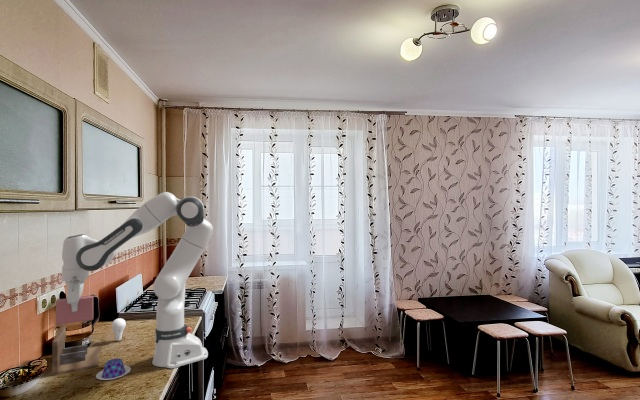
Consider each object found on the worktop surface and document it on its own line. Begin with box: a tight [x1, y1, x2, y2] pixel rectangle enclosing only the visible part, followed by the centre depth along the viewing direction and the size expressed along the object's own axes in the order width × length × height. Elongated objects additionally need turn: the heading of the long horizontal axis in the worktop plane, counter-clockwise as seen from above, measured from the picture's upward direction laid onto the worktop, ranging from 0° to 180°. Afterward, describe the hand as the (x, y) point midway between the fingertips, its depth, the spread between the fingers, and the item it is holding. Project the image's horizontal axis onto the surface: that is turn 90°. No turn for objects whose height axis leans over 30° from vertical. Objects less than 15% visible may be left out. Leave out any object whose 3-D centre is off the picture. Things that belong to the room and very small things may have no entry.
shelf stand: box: [49, 324, 102, 377], centre depth 151 cm, size 16×22×13 cm
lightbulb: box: [111, 317, 127, 342], centre depth 174 cm, size 6×6×11 cm
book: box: [55, 295, 94, 326], centre depth 141 cm, size 12×4×9 cm, turn 120°
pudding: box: [95, 357, 132, 381], centre depth 140 cm, size 12×12×5 cm
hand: (75, 309), depth 141 cm, fingers closed on book, 4 cm apart
